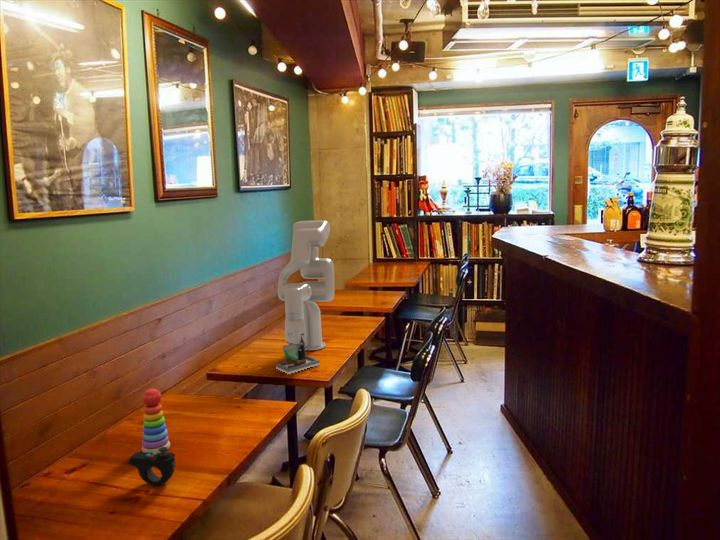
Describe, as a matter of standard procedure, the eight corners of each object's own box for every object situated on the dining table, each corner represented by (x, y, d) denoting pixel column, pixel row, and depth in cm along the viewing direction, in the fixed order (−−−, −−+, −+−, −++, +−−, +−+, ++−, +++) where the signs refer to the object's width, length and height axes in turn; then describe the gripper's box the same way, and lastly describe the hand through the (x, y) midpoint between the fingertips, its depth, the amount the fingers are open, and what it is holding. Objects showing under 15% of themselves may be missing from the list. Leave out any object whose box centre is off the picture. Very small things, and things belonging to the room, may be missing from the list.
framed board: (276, 369, 231) (275, 363, 231) (307, 360, 241) (306, 355, 241) (288, 374, 224) (288, 369, 224) (319, 365, 234) (319, 360, 233)
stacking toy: (166, 455, 160) (160, 394, 157) (138, 457, 160) (131, 396, 157) (173, 442, 168) (167, 384, 165) (146, 444, 167) (140, 386, 164)
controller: (172, 489, 142) (168, 453, 140) (128, 486, 144) (124, 450, 142) (180, 480, 146) (176, 445, 144) (138, 477, 148) (134, 443, 146)
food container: (297, 369, 224) (293, 345, 223) (286, 369, 227) (281, 345, 226) (314, 360, 235) (310, 337, 234) (303, 360, 238) (299, 337, 237)
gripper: (276, 314, 233) (279, 355, 236) (298, 321, 220) (301, 364, 222) (291, 311, 238) (293, 351, 240) (313, 317, 224) (316, 360, 227)
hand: (297, 357), depth 231 cm, fingers closed on food container, 6 cm apart
